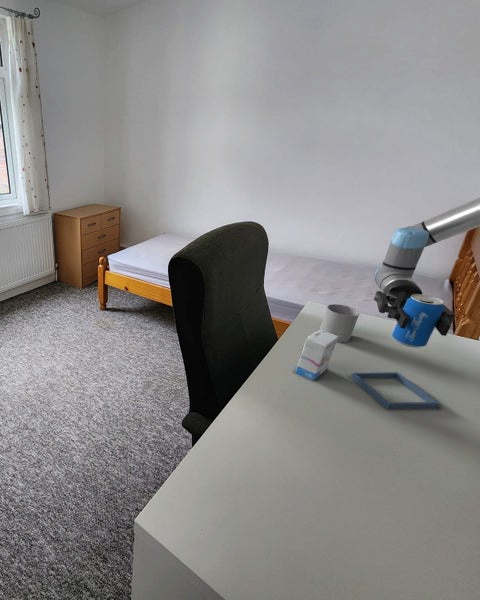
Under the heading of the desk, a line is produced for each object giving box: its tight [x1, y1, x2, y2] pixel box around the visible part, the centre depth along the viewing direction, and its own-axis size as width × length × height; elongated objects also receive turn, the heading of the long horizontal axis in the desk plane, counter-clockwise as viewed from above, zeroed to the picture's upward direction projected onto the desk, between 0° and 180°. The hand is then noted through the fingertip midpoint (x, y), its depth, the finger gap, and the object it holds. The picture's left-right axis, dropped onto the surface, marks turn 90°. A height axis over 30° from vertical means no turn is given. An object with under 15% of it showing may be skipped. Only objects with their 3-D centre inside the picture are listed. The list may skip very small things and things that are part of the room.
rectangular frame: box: [350, 371, 441, 410], centre depth 87 cm, size 12×12×2 cm
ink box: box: [294, 329, 338, 381], centre depth 93 cm, size 9×5×12 cm, turn 126°
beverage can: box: [391, 294, 445, 349], centre depth 83 cm, size 6×6×12 cm
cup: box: [319, 303, 360, 343], centre depth 110 cm, size 8×8×10 cm
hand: (425, 326), depth 78 cm, fingers closed on beverage can, 6 cm apart
